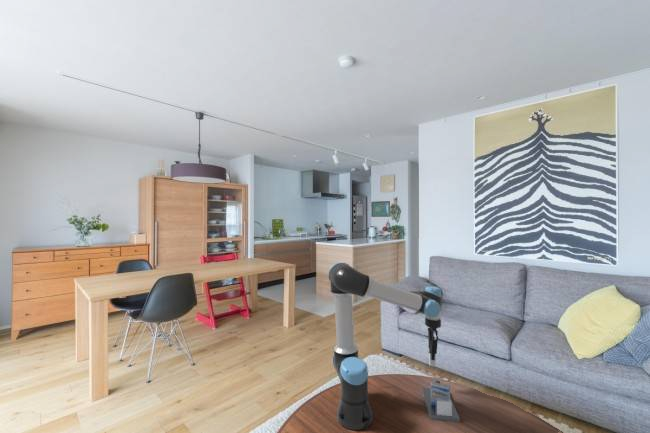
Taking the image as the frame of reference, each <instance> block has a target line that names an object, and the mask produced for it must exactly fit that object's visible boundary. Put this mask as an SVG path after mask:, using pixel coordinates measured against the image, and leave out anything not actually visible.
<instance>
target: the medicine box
mask: <svg viewBox="0 0 650 433" xmlns="http://www.w3.org/2000/svg"><path fill="white" fill-rule="evenodd" d="M430 388H431V405H433V406H436V403H435V397H442V398H450V397H451V387H450V385H449V384H444V383H441V382H440V383H436V381H431V382H430Z"/></svg>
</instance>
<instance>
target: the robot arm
mask: <svg viewBox="0 0 650 433" xmlns="http://www.w3.org/2000/svg"><path fill="white" fill-rule="evenodd" d="M328 280H329V282H330V293H331V294H332V295H333V298H334V300H333V301H334V314H335V315H334V316H335V317H334V318H335V334H336V335H335V336H336V345H335V346H334V347H333V355H332V364H333V367H334V370H335V371H336V373H337V376H338V379H339V383H340V401H339V403H338V407H337V410H336V419H337V422H338V421H339V422H338V423H339V424H340V426H342V427H343V426H344V427H343V428H345V429H348V430H351V431H360V430H361V431H362V430H365V429H367V428H368V427H370V425H371V424H372V422H373V412H372V408H371V406H370V402H369V384H368V383H369V380H368V379H369V370H368V365H367V362H365V361H364V360H363V359H361V358H360V357H359V346H358V345H356V344H355V328H354V308H353V295H355V296H357V297H358V296H359V297H361V298H363V297H368V298H369V297H370V298H373V299H376V300H379V301H382V302H386V303H388V304H392V305H394V306H397V307H401V308H405V309H408V310H411V311H413V312H416V313H419V314H422V315H424V317H425V318H424V325H425V326H426V327H427V333H428V335H427V337H428V340H427V341H428V345H427V347H428V353H429V355H428V356H429V358H428V363H429V364H428V365H429V366H430V367H436V359H437V358H436V357H437V353H438V340H439V336H438V335H439V333H438V332H439V331H438V330H437V329H440V328H441V327H442V319H441V318H442V314H443V312H442V289H441V288H440V287H437V286H434V285H433V286H432V285H430V286H426V287H425V290H424V291H421V290H418V291H416V290H415V291H414V290H412V291H411V290H410V291H409V290H405V289H402V288H399V287H396V286H393V285H390V284H387V283H384V282H381V281H378V280H375V279H372V278H371V277H370V276H369V275H367V274H365V273H362V272H361V271H358V270H357V269H355V268H354V267H352V266H350V265H349V263H345V262H335V263H334V264H333V265H331V266H330V268H329V270H328Z"/></svg>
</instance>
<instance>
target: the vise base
mask: <svg viewBox="0 0 650 433" xmlns="http://www.w3.org/2000/svg"><path fill="white" fill-rule="evenodd" d="M421 392H422V395H423V400H424V403H425V406H426V409H427V412H428V415H429V416H428V417H429V420H438V421H448V422H458V423H460V422H461V419H460V416H459V414H458V411H457V409H456V407H455V405H454V402H453V400H452V397H451V396H450V398H442V397H435V403H436V406H433V405H431V387H429V388H428V387H421Z"/></svg>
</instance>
